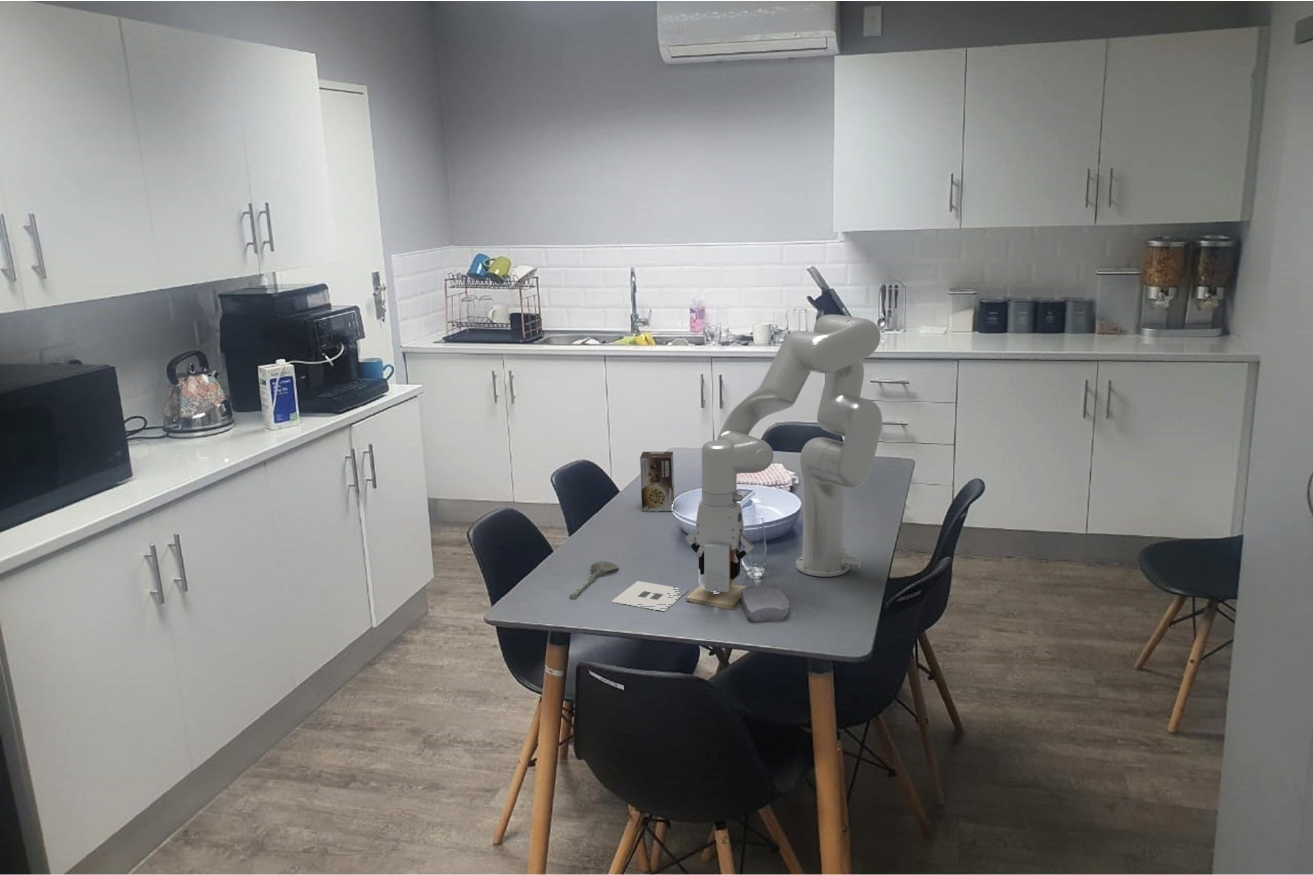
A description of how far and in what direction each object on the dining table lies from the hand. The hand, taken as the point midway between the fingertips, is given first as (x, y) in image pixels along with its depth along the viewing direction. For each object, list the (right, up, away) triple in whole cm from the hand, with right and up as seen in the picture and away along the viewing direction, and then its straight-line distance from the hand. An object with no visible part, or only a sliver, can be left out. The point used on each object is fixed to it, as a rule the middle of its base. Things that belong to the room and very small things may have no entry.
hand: (719, 574), depth 218 cm
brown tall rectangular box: (-13, +10, +64) cm, 66 cm away
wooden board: (0, -5, +1) cm, 5 cm away
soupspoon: (-29, -4, +11) cm, 31 cm away
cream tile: (-15, -5, +2) cm, 16 cm away
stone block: (+10, -7, -6) cm, 14 cm away
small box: (0, -3, +1) cm, 3 cm away
